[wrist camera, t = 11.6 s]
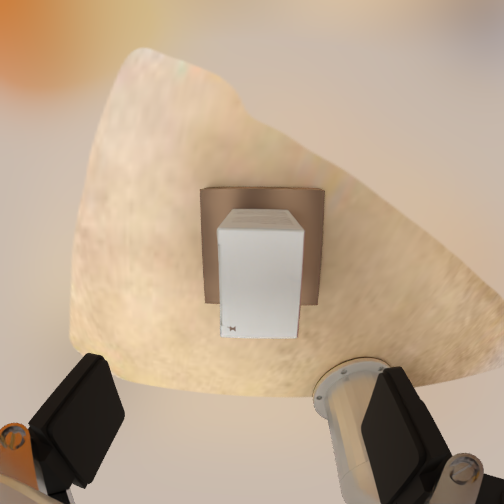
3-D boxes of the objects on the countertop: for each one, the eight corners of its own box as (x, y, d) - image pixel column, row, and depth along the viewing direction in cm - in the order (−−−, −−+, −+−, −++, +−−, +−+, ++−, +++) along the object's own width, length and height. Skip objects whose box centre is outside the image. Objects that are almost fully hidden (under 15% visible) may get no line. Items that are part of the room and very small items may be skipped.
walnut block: (317, 188, 31) (324, 190, 27) (312, 290, 34) (317, 305, 30) (208, 187, 32) (200, 189, 28) (211, 288, 35) (205, 303, 31)
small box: (286, 286, 30) (298, 342, 20) (231, 285, 30) (219, 340, 20) (289, 208, 28) (307, 229, 18) (231, 206, 28) (215, 227, 18)
